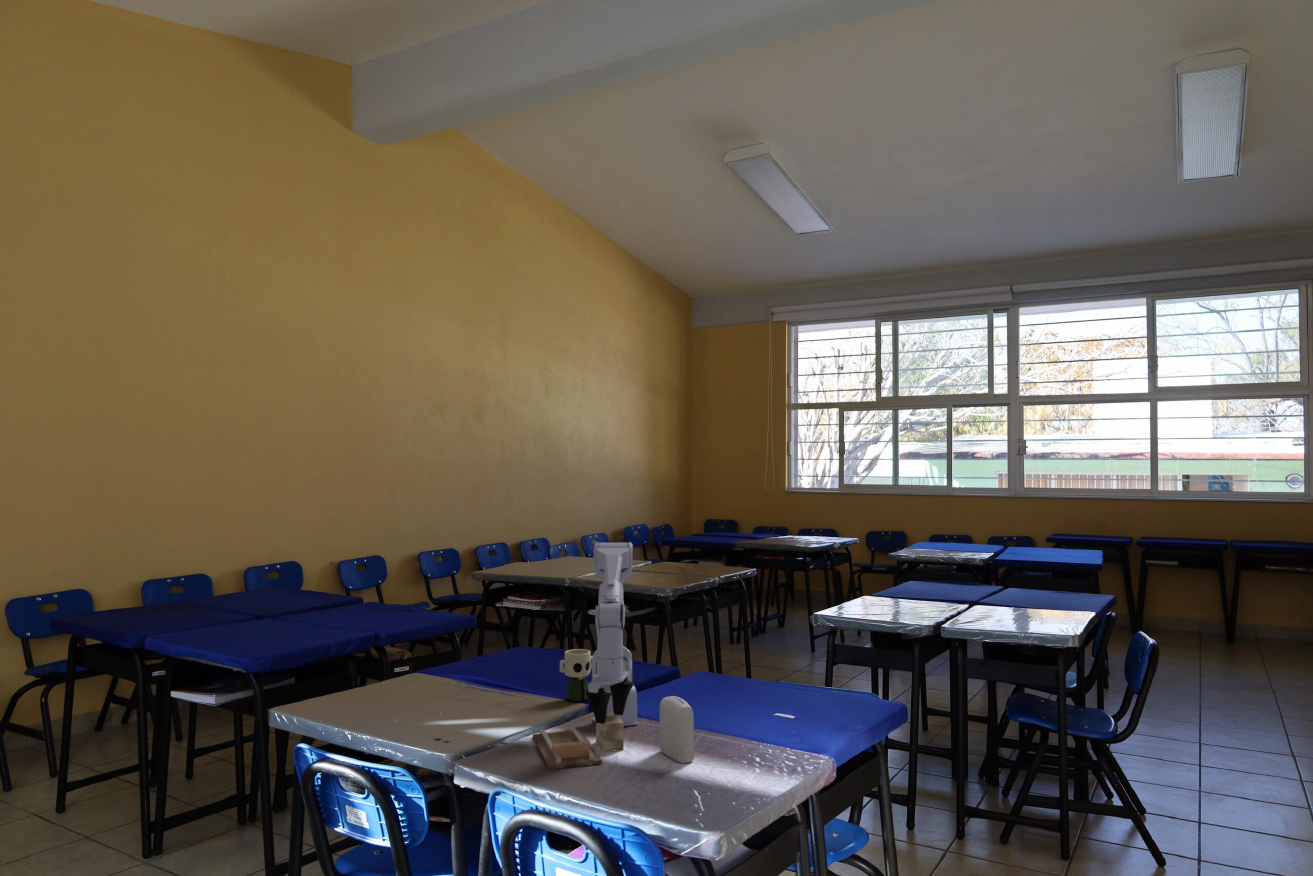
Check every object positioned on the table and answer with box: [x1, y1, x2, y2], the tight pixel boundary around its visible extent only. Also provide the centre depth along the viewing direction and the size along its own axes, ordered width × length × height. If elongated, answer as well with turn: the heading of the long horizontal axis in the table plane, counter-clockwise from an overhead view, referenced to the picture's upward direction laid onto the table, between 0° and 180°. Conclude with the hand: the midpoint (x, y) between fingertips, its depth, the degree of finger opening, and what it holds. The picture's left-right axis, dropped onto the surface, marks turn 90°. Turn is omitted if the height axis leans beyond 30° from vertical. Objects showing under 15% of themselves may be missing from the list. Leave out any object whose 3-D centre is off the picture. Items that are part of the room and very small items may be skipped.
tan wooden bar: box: [552, 740, 592, 759], centre depth 170 cm, size 8×2×2 cm, turn 108°
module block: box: [595, 714, 625, 752], centre depth 179 cm, size 4×7×6 cm, turn 18°
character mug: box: [559, 648, 593, 702], centre depth 218 cm, size 11×7×13 cm, turn 125°
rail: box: [538, 725, 594, 764], centre depth 176 cm, size 8×21×1 cm, turn 18°
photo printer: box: [659, 695, 695, 764], centre depth 172 cm, size 10×4×12 cm, turn 26°
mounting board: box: [532, 729, 603, 770], centre depth 176 cm, size 11×22×1 cm, turn 18°
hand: (609, 718), depth 179 cm, fingers open, 7 cm apart
